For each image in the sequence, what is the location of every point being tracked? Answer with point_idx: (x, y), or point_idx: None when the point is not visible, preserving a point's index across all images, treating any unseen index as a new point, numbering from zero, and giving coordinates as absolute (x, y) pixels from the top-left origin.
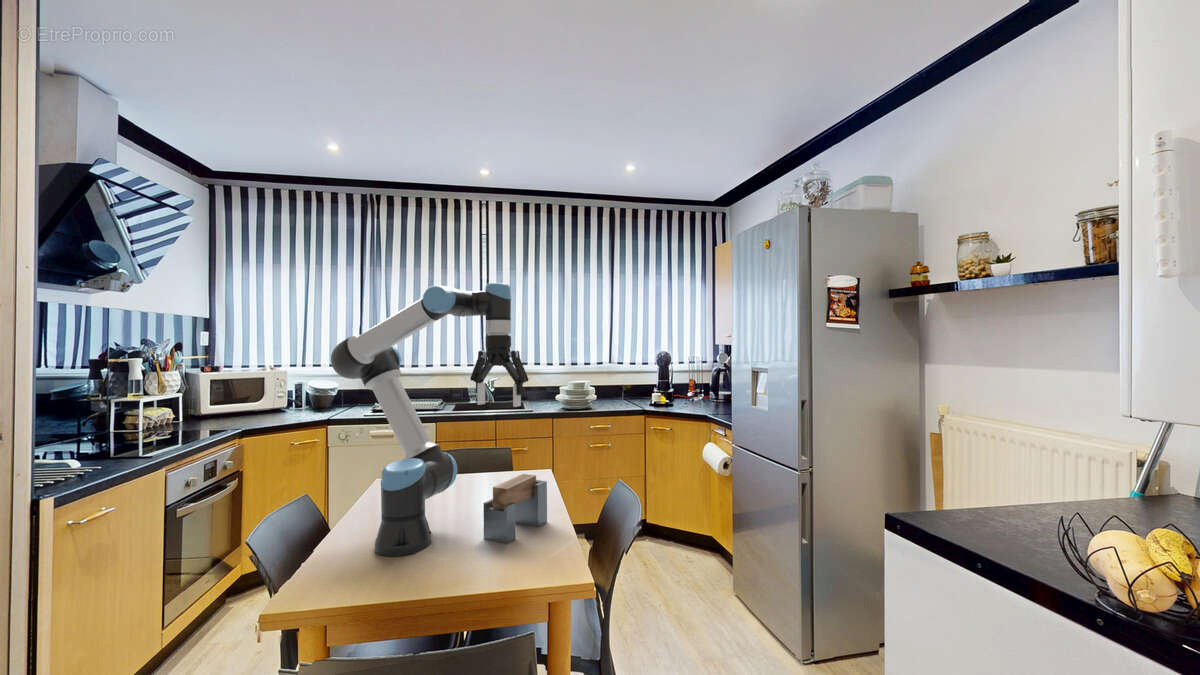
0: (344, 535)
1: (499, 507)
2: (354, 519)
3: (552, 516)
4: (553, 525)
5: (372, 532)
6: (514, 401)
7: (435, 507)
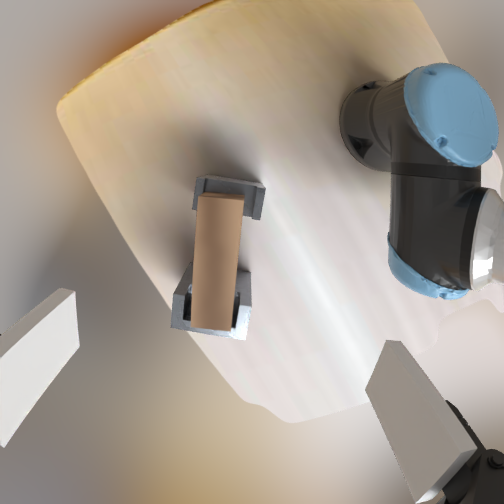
0: None
1: (226, 193)
2: None
3: None
4: (170, 281)
5: None
6: (46, 304)
7: (423, 298)
